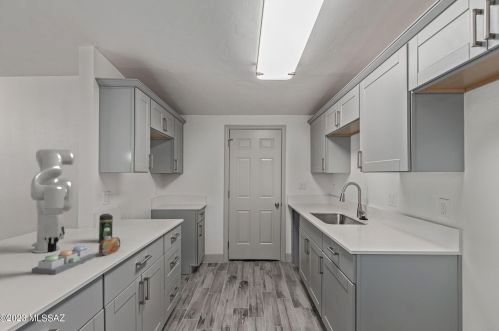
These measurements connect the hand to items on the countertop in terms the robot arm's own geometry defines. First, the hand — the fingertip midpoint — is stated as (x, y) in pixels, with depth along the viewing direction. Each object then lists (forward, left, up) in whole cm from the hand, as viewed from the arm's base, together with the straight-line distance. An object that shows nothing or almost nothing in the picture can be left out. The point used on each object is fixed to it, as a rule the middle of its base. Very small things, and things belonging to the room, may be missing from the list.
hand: (51, 251), depth 126 cm
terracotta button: (0, +9, -5) cm, 10 cm away
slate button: (0, +17, -5) cm, 18 cm away
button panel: (0, +9, -9) cm, 12 cm away
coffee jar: (-12, +56, -9) cm, 58 cm away
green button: (0, 0, -5) cm, 5 cm away
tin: (+8, +31, -9) cm, 33 cm away
